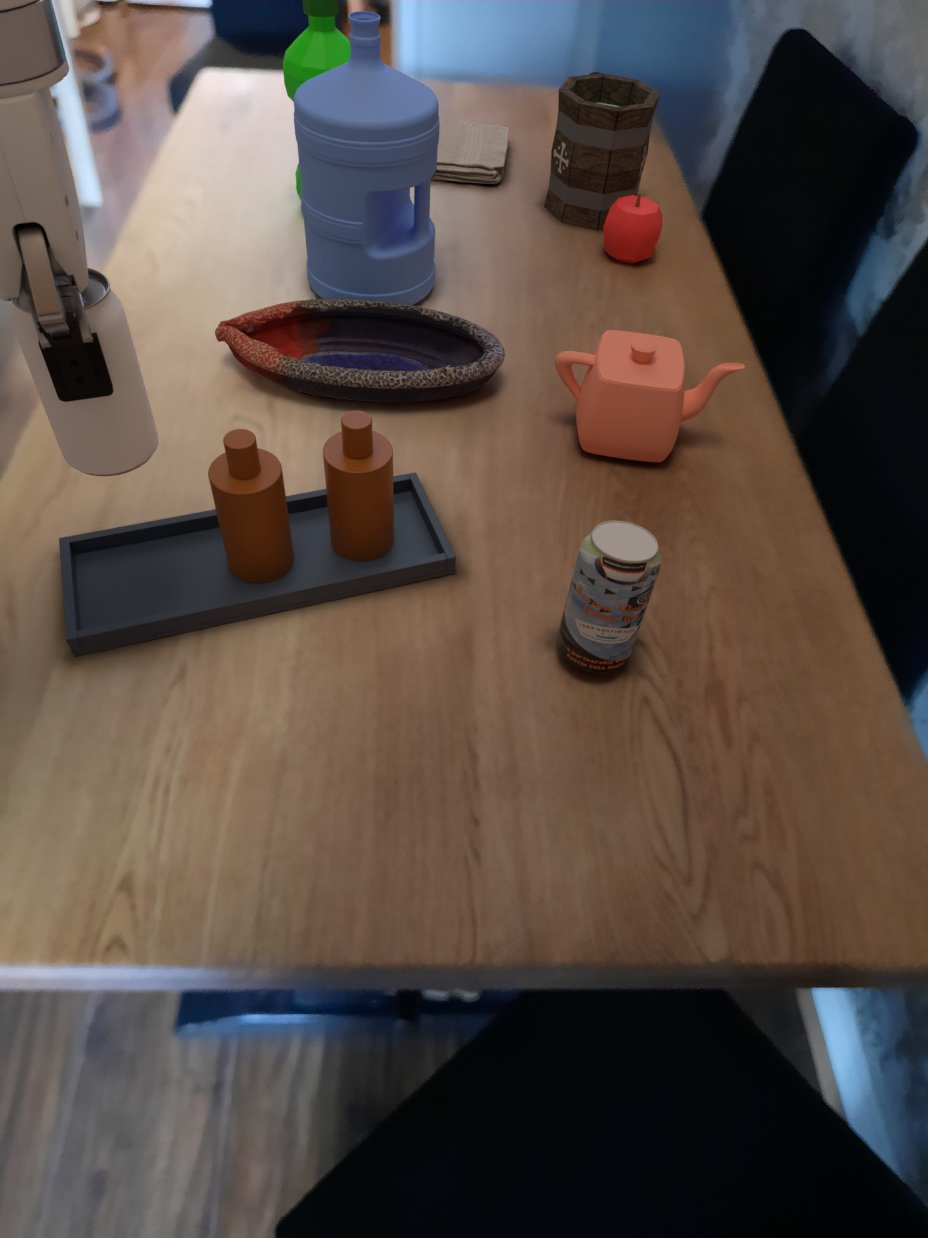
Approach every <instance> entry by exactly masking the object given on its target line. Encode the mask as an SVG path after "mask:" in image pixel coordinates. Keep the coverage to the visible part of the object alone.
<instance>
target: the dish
mask: <svg viewBox="0 0 928 1238" xmlns="http://www.w3.org/2000/svg"><path fill="white" fill-rule="evenodd" d="M214 335H215V339H216V340H217V342H218V343H219V342H221V343H222V342H225V344H227V346H228V348H229V351H230V352H231V354H232V356H233V358H234V359H235V360H236V362H238V363H240V364H241V365H242V366H243V367H244V368H246V369H247V370H249V371H250V372H253V373H255V374H257V375H259V376H261V377H263V378H265V379H267V380H268V381H271V382H272V383H274V384H276V385H279V386H281V387H283V388H286V389H288V390H291V391H295V392H300V393H303V394H308V395H314V396H319V397H325V398H333V399H341V400H351V401H360V402H361V401H362V402H375V403H376V402H377V403H380V402H384V403H411V402H426V401H427V402H429V401H436V400H443V399H449V398H453V397H457V396H463V395H465V394H468V393H470V392H473V391H475V390H477V389H478V388H480V387H482V386H483V385H485V384H486V383H488V382H489V381H490V380H491V379H492V378H493V377H494V376H495V374H496V373H497V371H498V369H500V367H501V366H502V365H503V364H504V360H505V358H506V357H505V356H506V352H505V351H506V350H505V348H504V346H503V343H501V341H500V340H499V339H498V338H497V337H496V336H495V335H494V333H492V332H490V331H489V330H487V329H486V328H484V327H482V326H480V325H478V324H476V323H474V322H472V321H470V320H467V319H465V318H462V317H459V316H456V315H454V314H450V313H447V312H443V311H438V310H435V309H430V308H427V307H421V306H416V305H405V304H399V303H391V302H383V301H371V300H356V299H322V298H314V299H313V298H311V299H302V300H293V301H287V302H282V303H277V304H274V305H269V306H267V307H263V308H260V309H256V310H252V311H249V312H245V313H243V314H240V315H238V316H235V317H233V318H230V319H225V320H221V321H220V322H219V324H218V325H217V327H216V328H215V330H214Z"/></svg>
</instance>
